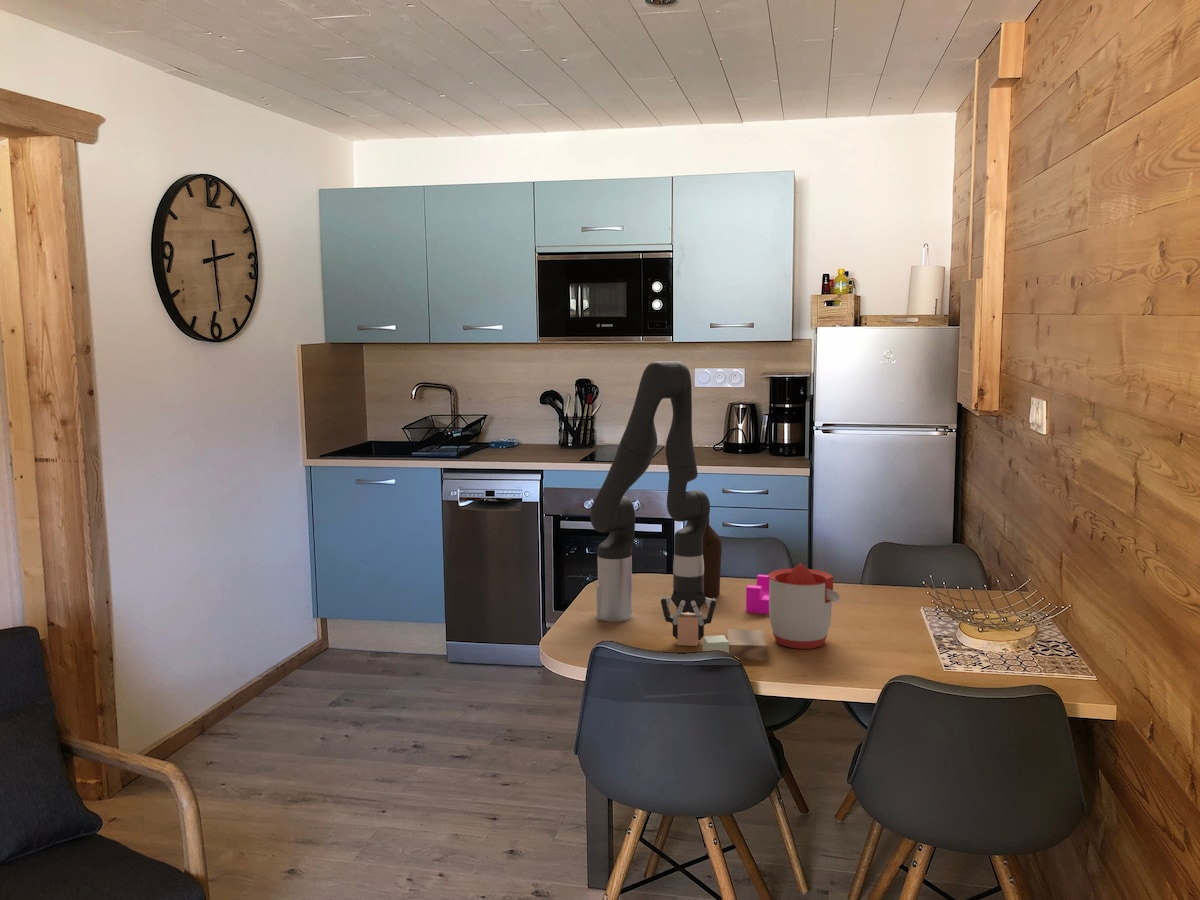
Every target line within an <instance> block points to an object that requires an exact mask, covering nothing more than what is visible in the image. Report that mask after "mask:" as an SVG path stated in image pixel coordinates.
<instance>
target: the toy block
mask: <svg viewBox="0 0 1200 900" xmlns="http://www.w3.org/2000/svg"><path fill="white" fill-rule="evenodd" d="M768 575H769V574H757V577H756V585H755V584H754V585H753V584H748V585H747V586H746V588H745V589H746V590H745V597H746V599H745V603H746V604H745V610H746V611H745V613H753V612H755V613H754V614H765V615H766V614H767V615H769V577H768Z"/></svg>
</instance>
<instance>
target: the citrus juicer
mask: <svg viewBox="0 0 1200 900" xmlns="http://www.w3.org/2000/svg"><path fill="white" fill-rule="evenodd" d="M767 575H768V577H769V614H768V615H769V621H770V626H771V629H772V634H773V636H774V639H775V642H776V643H777V644H779V645H781V646H784V647H787V648H791V649H802V650H804V649H805V650H811V649H815V648H820V647H821V646H823V645H824V644H825V641H826V639H827V637H828V634H829V633H828V632H829V630H830V627H831V626H830V625H831V621H832V611H833V610H832V608H833V607H832V605H833V603H832V602H834V603H839V602H840V600H841V598H840V594H839V593H838V592H837V591H835V590H834V576H833V575H832V574H830V573H828V572H826V571H823V570H817V569H811V568H807V566H806V565H804V564H803V563H798V564H797V565H796V566H795V567H793V568H792V567H791V568H781V569H775V570H773V571H771V572H769V574H767Z"/></svg>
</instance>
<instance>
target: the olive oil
mask: <svg viewBox="0 0 1200 900" xmlns="http://www.w3.org/2000/svg"><path fill="white" fill-rule="evenodd" d="M722 548H723V543H722V540H721V537H720V535H719V534H718V533H717V532H716V531H715V529H713V527H712V526H711V524H710V517H709V518H708V521H707V525H706V529H705V532H704V536H703V560H704V594H705V596H706V597H707V598H711V599H712V598H715V599H717V598H719V597H720V593H721V592H720V591H721V570H722V569H721V567H722V566H721V565H722V553H723V552H722V550H723V549H722Z"/></svg>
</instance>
